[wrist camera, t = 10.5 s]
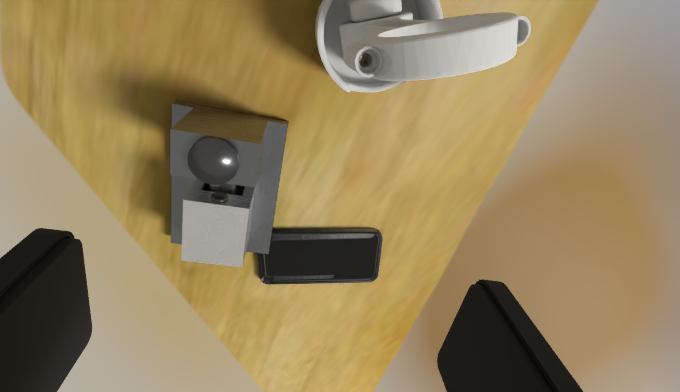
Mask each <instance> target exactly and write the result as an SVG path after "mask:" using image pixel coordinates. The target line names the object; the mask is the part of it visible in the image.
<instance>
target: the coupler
mask: <svg viewBox="0 0 680 392" xmlns="http://www.w3.org/2000/svg"><path fill="white" fill-rule="evenodd" d="M287 127H288V121H285V120H279V119H273V118H268V117H262V116H257V115H251V114H246V113H240V112H235V111H229V110H224V109H218V108H212V107H207V106H201V105H196V104H190V103H185V102H179V101H175V102H174V103H172V128H171V129H170V175H171V243H177V244H182V222H183V199H184V198H185V196H186V194H187V193H188V191H189V190H190V188H191V186H192V185H193V183H194V182H195V180H196V179H199V180H201V181H202V182H205V183H207V188H206V191H211V192H223V193H226V194H232V195H239V196H242V195H243V192H244V189H245V186H248V187H255V193H254V201H253V209H252V217H251V225H250V234H249V241H248V245H247V249H246V252H254V253H263V254H269V247H270V240H271V234H272V227H273V221H274V214H275V207H276V201H277V194H278V187H279V181H280V174H281V167H282V161H283V154H284V147H285V141H286V134H287Z"/></svg>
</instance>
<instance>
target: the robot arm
mask: <svg viewBox="0 0 680 392" xmlns="http://www.w3.org/2000/svg"><path fill="white" fill-rule="evenodd" d="M91 332H92V322H91V314H90V306H89V297H88V289H87V281H86V273H85V264H84V256H83V248H82V243H81V241H80V240H79V239H75V238H74V235H73V234H72V233H71V232H69V231H60V230H52V229H44V228H39V229H36V230H34V231H33V232H32V233H30V234H29V235H28V236H27V237H26V238H24V239H23V240H22V241H21V242H20V243H19V244H17V245H16V246H15V247H13V248H12V249H11V250H10V251H9V252H7V254H5V255H4V256H3V257H1V258H0V392H57V391H58V389H59V387H60V386H61V384H62V383H63V381H64V380H65V378H66V377H67V375H68V373H69V372H70V370H71V369H72V367H73V366H74V364H75V363H76V361H77V359H78V358H79V356H80V355H81V353H82V352H83V350H84V349H85V347H86V345H87V344H88V342H89V339H90V337H91ZM437 363H438V368H439V371H440V374H441V377H442V379H443V382H444V385H445V388H446V390H447V392H583V391H582V389H581V388H580V387H579V385H578V384H577V382H576V381H575V380H574V378H573V377H572V376H571V374H570V373H569V372H568V370H567V369H566V367H565V366H564V365H563V363H562V362H561V361H560V359H559V358H558V356H557V355H556V354H555V352H554V351H553V350H552V348H551V347H550V345H549V344H548V343H547V341H546V340H545V339H544V337H543V336H542V334H541V333H540V332H539V330H538V329H537V327H536V326H535V325H534V323H533V322H532V321H531V319H530V318H529V316H528V315H527V314H526V313H525V311H524V310H523V308H522V307H521V306H520V304H519V303H518V301H517V300H516V299H515V297H514V296H513V295H512V293H511V292H510V290H509V289H508V288H507V286H506V285H505V284H504V283H502V282H498V281H489V280H479V281H478V282H476V284H473V285H471V286H470V288H469V290H468V292H467V294H466V296H465V298H464V300H463V302H462V305H461V307H460V309H459V311H458V313H457V315H456V317H455V319H454V321H453V324H452V326H451V328H450V330H449V332H448V334H447V336H446V339H445V341H444V343H443V345H442V347H441V349H440V351H439V353H438V358H437Z"/></svg>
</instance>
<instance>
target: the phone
mask: <svg viewBox="0 0 680 392" xmlns="http://www.w3.org/2000/svg"><path fill="white" fill-rule="evenodd" d="M381 247H382V235H381V233H380V231H379V230H377V229H373V228H357V229H272V234H271V240H270V247H269V254H263V253H258V262H259V277H260V280H261V282H263V283H265V284H310V283H359V282H372V281H374V280H375V279H376V278H377V277H378V271H379V263H380V255H381Z"/></svg>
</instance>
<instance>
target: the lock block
mask: <svg viewBox="0 0 680 392" xmlns="http://www.w3.org/2000/svg"><path fill="white" fill-rule="evenodd" d="M206 188H207V183H205V182H202V181H201V180H199V179H196V180H195V182H194V183H193V185H192V186H191V188H190V190H189V191H188V193H187V194H186V196H185V198H184V199H183V222H182V259H181V261H190V262H199V263H208V264H217V265H226V266H235V267H242V266H243V262H244V258H245V254H246V249H247V245H248V241H249V234H250V225H251V217H252V209H253V201H254V193H255V187H248V186H245V189H244V192H243V195H242V196H239V195H232V194H226V193H223V192H211V191H206Z"/></svg>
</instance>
